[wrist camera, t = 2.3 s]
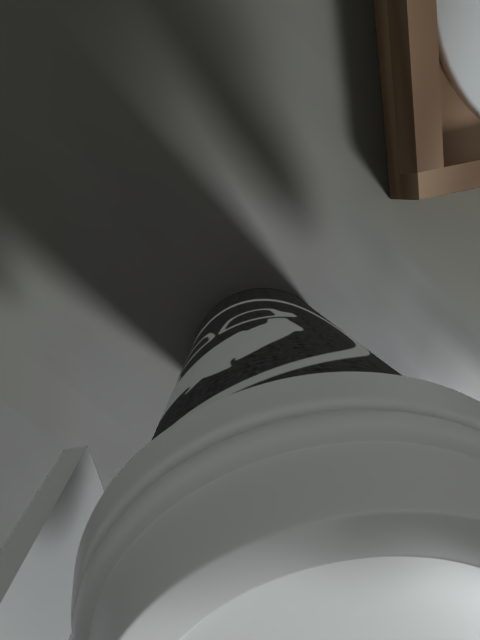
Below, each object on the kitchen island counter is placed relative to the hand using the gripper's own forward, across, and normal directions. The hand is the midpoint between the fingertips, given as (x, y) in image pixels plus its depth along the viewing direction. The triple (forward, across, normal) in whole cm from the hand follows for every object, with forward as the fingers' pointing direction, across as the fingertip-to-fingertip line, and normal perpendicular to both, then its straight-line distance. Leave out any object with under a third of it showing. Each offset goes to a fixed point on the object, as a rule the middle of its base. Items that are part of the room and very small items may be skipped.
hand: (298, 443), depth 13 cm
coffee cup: (+8, -1, 0) cm, 8 cm away
